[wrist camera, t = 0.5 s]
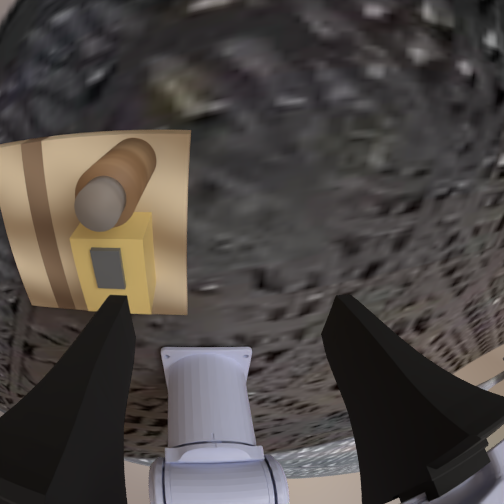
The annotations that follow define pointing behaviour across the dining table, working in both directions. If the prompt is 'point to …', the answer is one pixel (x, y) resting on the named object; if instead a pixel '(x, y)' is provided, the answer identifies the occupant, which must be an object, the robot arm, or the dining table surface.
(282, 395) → the dining table surface
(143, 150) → the brown gray-topped cylinder
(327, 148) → the dining table surface
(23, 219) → the plywood panel
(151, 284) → the stud finder
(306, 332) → the dining table surface
